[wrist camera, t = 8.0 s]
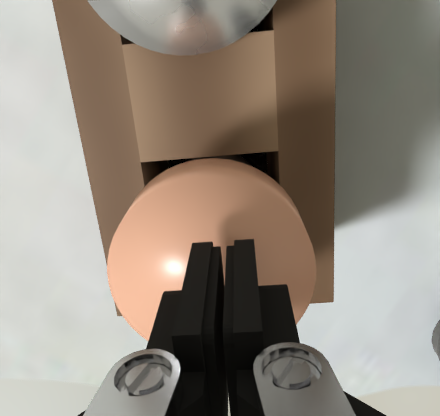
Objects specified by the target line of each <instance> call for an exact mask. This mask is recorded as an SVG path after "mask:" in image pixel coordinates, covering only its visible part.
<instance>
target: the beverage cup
mask: <svg viewBox="0 0 440 416" xmlns="http://www.w3.org/2000/svg"><path fill="white" fill-rule="evenodd" d="M432 344H433V348H434V351H435V352H436V354H437V355H438V357H439V360H440V320H439V322H438V323H437V325H436V327H435V329H434V331H433V336H432Z"/></svg>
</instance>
